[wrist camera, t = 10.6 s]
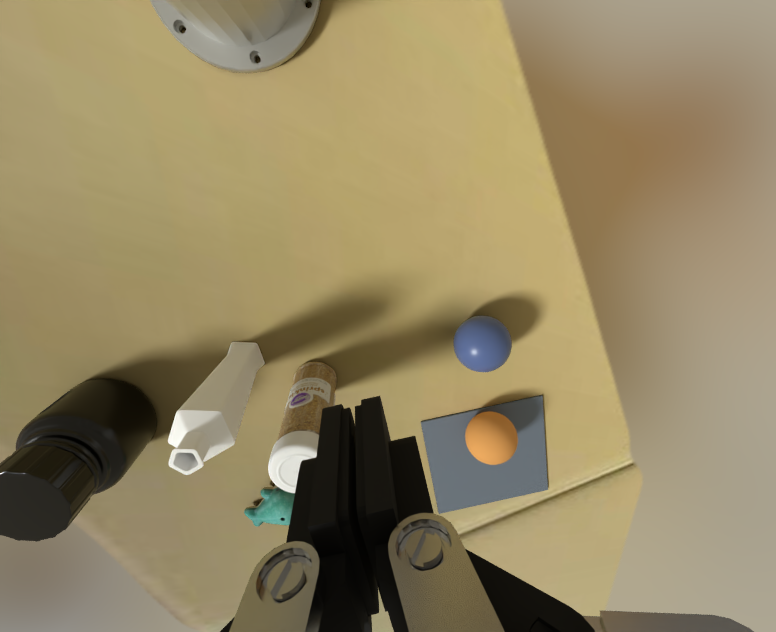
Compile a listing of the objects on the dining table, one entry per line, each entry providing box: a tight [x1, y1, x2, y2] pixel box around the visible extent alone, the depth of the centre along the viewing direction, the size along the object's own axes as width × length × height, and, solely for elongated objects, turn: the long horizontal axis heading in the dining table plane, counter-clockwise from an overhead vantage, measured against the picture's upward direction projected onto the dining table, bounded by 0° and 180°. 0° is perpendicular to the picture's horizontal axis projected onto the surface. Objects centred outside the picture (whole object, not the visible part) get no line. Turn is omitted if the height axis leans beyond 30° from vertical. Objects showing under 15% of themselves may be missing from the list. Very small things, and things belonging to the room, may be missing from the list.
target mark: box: [421, 395, 548, 514], centre depth 46 cm, size 14×14×1 cm
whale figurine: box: [244, 485, 295, 526], centre depth 44 cm, size 6×7×4 cm
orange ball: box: [465, 411, 518, 465], centre depth 42 cm, size 6×6×6 cm
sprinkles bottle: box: [268, 362, 337, 493], centre depth 34 cm, size 5×5×13 cm
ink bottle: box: [0, 379, 157, 541], centre depth 35 cm, size 10×9×12 cm
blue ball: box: [454, 316, 512, 372], centre depth 38 cm, size 6×6×6 cm
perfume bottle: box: [168, 342, 265, 475], centre depth 32 cm, size 5×4×15 cm
